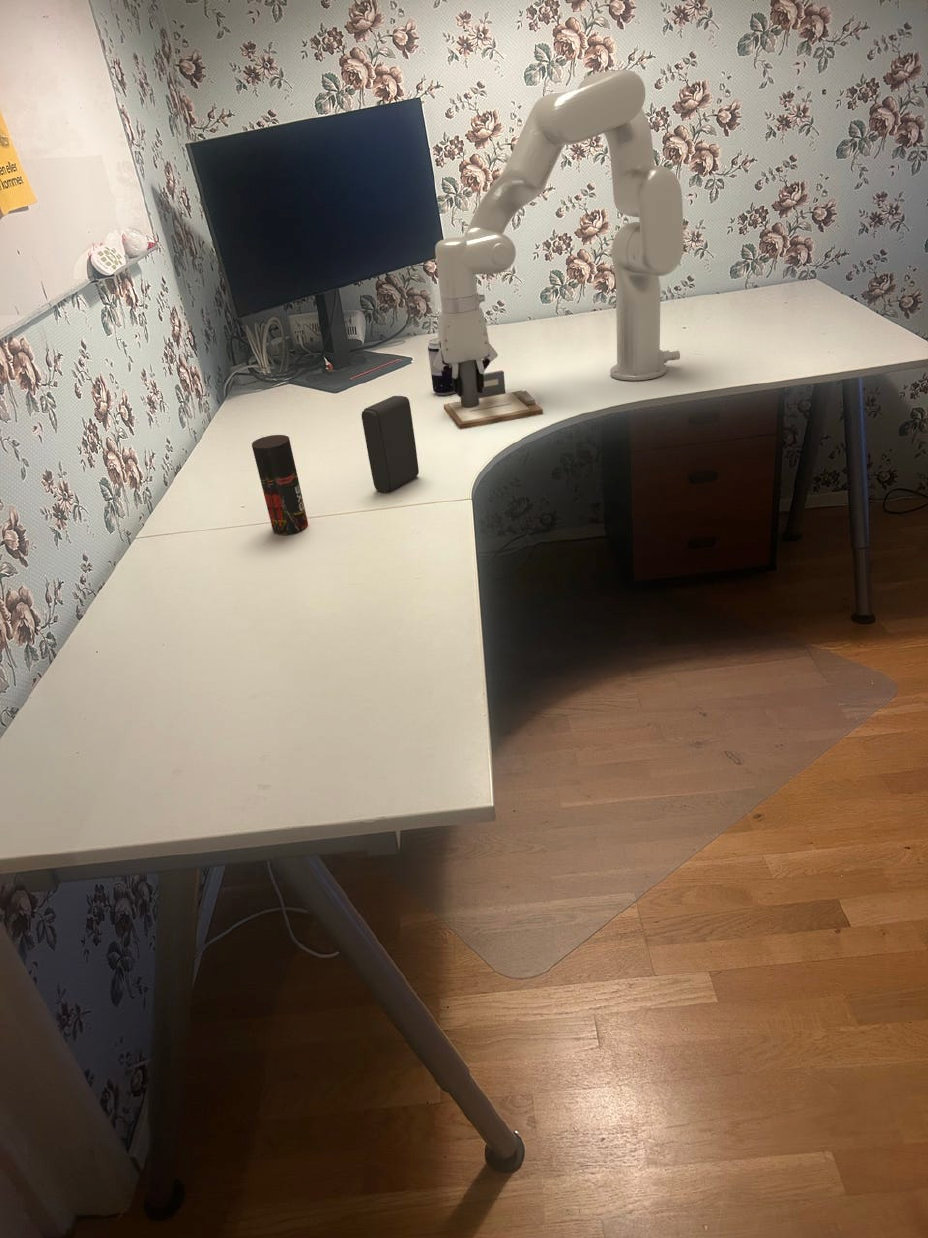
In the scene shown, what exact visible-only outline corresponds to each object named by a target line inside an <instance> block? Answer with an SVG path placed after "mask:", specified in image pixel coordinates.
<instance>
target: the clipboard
mask: <svg viewBox="0 0 928 1238" xmlns="http://www.w3.org/2000/svg"><path fill="white" fill-rule="evenodd" d="M479 402H480V404H479V405H477V406H474V407H463V406H461V400H459V401H455V402H450V403H444V404H443V405H442V406H443V410H444V411H445V412H446V413H447V415H448V414H449V415H448V416H449V417H450V419H451V418H452V419H451V420H452V421H453V423H454V424H455V425H456V426H457V428H458V429H459V430H464V429H468V428H474V427H479V426H480V427H481V426H485V425H491V424H496V423H501V422H507V421H511V420H518V419H524V418H528V417H534V416H535V417H536V416H539V415H543V414H544V409H543V408H542V407H541V406H540V405H539V404H538V403H537V400H536V398H535V397H534V396H532V395H531V394H530V393H529V392H528V391H527V390H524V391H523V390H517V391H511V392H505V394H499V395H493V396H488V397H482V398H479Z"/></svg>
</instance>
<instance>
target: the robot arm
mask: <svg viewBox="0 0 928 1238" xmlns="http://www.w3.org/2000/svg"><path fill="white" fill-rule="evenodd" d="M645 100H646V86H645V84H644V81H643V79H642V78H641V77H640V75H639V74H637V73H636V72H635V71H633V70H630V69H618V70H617V69H615V70H609V71H600V72H595V73H593V74H589V75H588V76H586V77H585V78H584V79H583V80H582V81H581V82H580V83H579V85H578V88H577V89H576V88H575V89H574V90H570V91H566V92H557V93H549V94H545V95H543V96H541V97H540V98H539V99H538V100H537V101H536V102H535V103H534V105H533V107H532V108H531V110H530V112H529V113H528V117H527V119H526V121H525V123H524V126H523V127H522V129H521V132H520V134H519V136H518V139H517V140H516V143H515V146H514V147H513V149H512V152H511V154H510V156H509V157H508V158H509V159H508V161H507V163H506V165H505V167H504V169H503V171H502V172H501V174H500V175H499V176H498V177H497V179H496V180H495V181H494V183H493V184H492V185H491V187H490V188H489V190H488V191H487V192H486V193H485V195H484V197H483V198H482V199H481V200H480V202H479V204H478V206H477V208H476V210H475V211H474V213H473V216H472V218H471V220H470V222H469V225H468V227H467V229H466V231H465V234H464V236H458V237H457V236H455V237H449V238H445V239H441V240H439V241H437V243H435V244H436V245H435V247H434V250H435V251H434V252H435V253H434V254H435V260H436V262H435V263H436V269H437V270H436V271H437V278H438V285H439V287H438V288H439V296H440V303H441V304H440V305H441V311H442V312H439V313H438V315H437V316H438V317H437V338H438V343H439V352H438V354H437V356H436V359H435V361H434V363H433V365H434V366H435V367H436V368H438V369H440V370H443V371H445V372H446V373H447V374H449V375H450V376H451V377H452V384H453V391H454V393H453V394H456V396H458V397H459V398H460V397H461V396H462V387H461V379H460V378H459V375H458V363H462V362H464V361H468V360H466V359H467V358H469V359H470V360H473V361H474V360H475V362H476V372H477V383H478V392H479V393H482V388H483V387H484V378H483V374H484V373H485V372H486V370H487V368H488V366H489V365H490V364H491V362H493V361H494V360H495V359H496V358H497V357H498V356H499V355H498V353H497V351H496V350H495V349H494V347H493V346H492V345H491V343H490V341H489V333H488V327H487V323H486V320H485V319H486V318H485V314H484V311H483V309H482V307H481V306H480V304H481V303H482V302H486V296H485V294H479V292H478V287H477V286H478V285H477V275H495V274H496V275H497V274H501V273H504V272H505V271H507V270H509V269H510V268H511V266H512V265H513V264H514V262H515V259H516V255H517V253H516V247H515V244H514V242H513V241H512V240H511V238H510V237H508V235H506V234H504V232H505V229H506V228H507V227H508V225H509V223H510V222H511V221H512V220H513V219H512V218H514V216H515V215H516V214H517V213H518V212H519V211H520V210H521V209H523V208H524V207H525V206H526V205H528V204H530V203H531V202H532V201H534V200H535V199H536V198H537V197H538V196H540V195H541V194H542V192H543V191H544V189H545V187H546V185H547V182H548V180H549V178H550V176H551V174H552V171H553V169H554V168H555V165H556V163H557V161H558V159H559V157H560V155H561V153H562V151H563V148H564V147H565V146H567V145H568V146H571V145H576V144H580V143H582V142H585V141H587V140H590V139H593V138H596V137H599V136H600V135H602V134H603V135H604V137H605V138H606V141H607V145H608V150H609V158H610V166H611V167H610V169H611V179H612V180H611V181H612V194H613V203H614V205H615V208H616V210H618V211H619V213H621V214H623V215H625V216H628V217H633V218H638V220H639V221H633V222H629V223H626V224H625V225H623V226H622V227H620V228H619V229H618V231H617V232H616V234H615V235H614V238H613V240H612V244H611V259H612V264H613V265H612V266H613V271H614V276H615V277H614V278H615V291H616V296H615V298H616V302H615V303H616V304H615V305H616V308H615V309H616V364H615V365H613V366H612V367H611V368H610V369H609V373H610V377H612V378H615V379H616V380H622V381H629V382H631V381H646V380H650V379H656V378H658V377H662V376H663V375H665V374H666V373H667V365H666V364H667V363H668V362H669V361H677V360H680V359H681V353H680V351H679V350H674V351H670V350H664V351H663V350H661V299H662V296H661V295H662V294H661V293H662V292H661V281H660V277H663V276H667V275H669V274H671V273H672V272H674V271H675V270H676V269H677V268H678V266H679V265H680V262H681V260H682V257H683V253H684V245H685V235H684V209H683V208H684V207H683V194H682V188H681V183H680V181H679V179H678V177H677V175H676V174H675V173H674V172H673V170H671V169H670V168H669V167H667V166H662V165H656V163H655V156H654V145H653V136H652V130H651V127H650V126H651V125H650V123H649V119H648V118H647V114H645V112H644V110H643V106H644V104H645ZM443 360H444V362H445V363H447V364H450V367H449V366H447V365H445V364H443V363H442V361H443Z"/></svg>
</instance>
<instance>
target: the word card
mask: <svg viewBox="0 0 928 1238" xmlns="http://www.w3.org/2000/svg"><path fill="white" fill-rule="evenodd" d="M483 378H484V387H483V388H482V393H479V398H482V397H488V396H493V395H499V394H505V393H506V383H505V372H504V370H497V371H490V372H486V373H485V372H484V373H483Z"/></svg>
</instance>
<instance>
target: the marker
mask: <svg viewBox="0 0 928 1238" xmlns="http://www.w3.org/2000/svg"><path fill="white" fill-rule="evenodd" d="M466 360H468V361H464V362H462V363H458V375H459V378H460V379H461V387H462V396H461V397H459V399H460V401H461V406H463V407H474V406H477V405H479V404H480V402H479V392H478V383H477V372H476V362H475V360H474V361H473V360H470V359H469V358H467V359H466Z"/></svg>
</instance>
